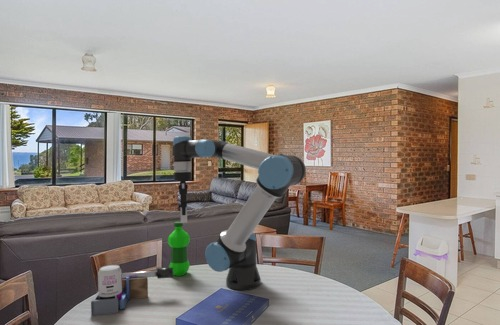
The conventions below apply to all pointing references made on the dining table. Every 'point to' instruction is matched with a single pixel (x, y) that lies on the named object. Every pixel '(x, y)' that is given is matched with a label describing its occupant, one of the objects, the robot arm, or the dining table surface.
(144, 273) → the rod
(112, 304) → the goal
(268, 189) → the robot arm
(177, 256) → the plastic bottle
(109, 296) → the supplement can
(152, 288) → the dining table surface
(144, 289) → the brown wooden board
